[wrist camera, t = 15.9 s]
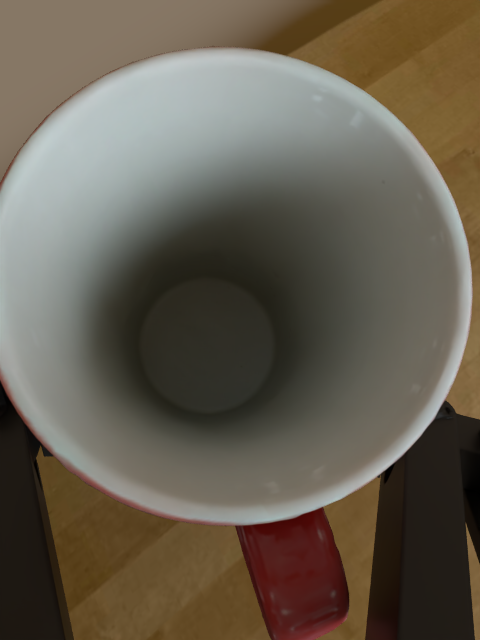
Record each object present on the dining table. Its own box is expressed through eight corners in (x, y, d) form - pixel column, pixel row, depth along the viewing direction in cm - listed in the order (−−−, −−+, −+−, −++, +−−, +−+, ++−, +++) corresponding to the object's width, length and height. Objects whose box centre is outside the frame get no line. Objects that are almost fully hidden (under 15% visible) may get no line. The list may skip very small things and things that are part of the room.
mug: (92, 268, 21) (-56, 59, 8) (276, 240, 23) (411, 22, 9) (137, 546, 19) (42, 872, 6) (333, 497, 21) (596, 675, 8)
